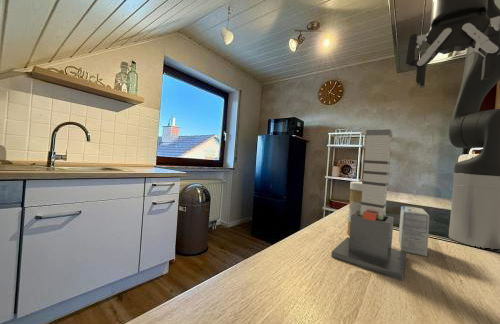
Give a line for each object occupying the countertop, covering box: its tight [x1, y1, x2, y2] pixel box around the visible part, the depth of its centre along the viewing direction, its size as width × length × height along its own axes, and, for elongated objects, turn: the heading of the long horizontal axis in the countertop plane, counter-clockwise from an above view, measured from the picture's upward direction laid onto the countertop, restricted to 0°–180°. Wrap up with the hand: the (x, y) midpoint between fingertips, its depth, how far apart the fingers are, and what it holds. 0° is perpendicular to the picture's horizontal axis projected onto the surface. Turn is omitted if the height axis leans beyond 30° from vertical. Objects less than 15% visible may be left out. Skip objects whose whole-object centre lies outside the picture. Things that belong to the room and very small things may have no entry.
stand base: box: [331, 211, 408, 281], centre depth 41 cm, size 11×11×9 cm
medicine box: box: [398, 205, 430, 257], centre depth 47 cm, size 8×4×9 cm, turn 148°
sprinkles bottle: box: [346, 181, 363, 236], centre depth 53 cm, size 5×5×14 cm
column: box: [360, 128, 393, 221], centre depth 41 cm, size 4×4×17 cm
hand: (451, 83), depth 40 cm, fingers open, 8 cm apart
